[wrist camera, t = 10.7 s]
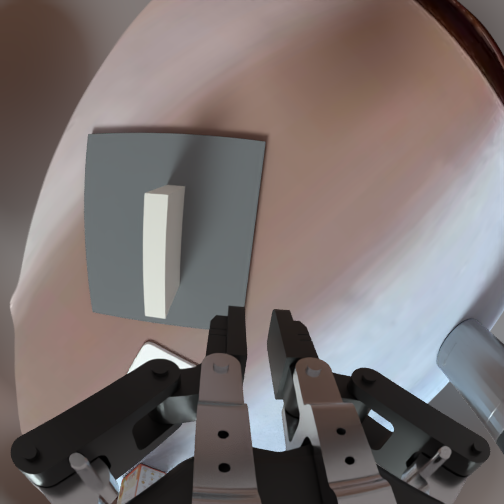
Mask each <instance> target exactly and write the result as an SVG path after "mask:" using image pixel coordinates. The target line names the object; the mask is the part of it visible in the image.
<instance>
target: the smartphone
mask: <svg viewBox="0 0 504 504" xmlns="http://www.w3.org/2000/svg"><path fill="white" fill-rule="evenodd" d="M152 359H167V360H170V361H172V362H174V363H176V364H177V365H178V367H179V368H180V369H185V368H192V367H195V366H196V365H195V364H193V363H191V362H189V361H187V360H185V359H183V358H181V357H179V356H177V355H175V354H173V353H171V352H169V351H168V350H166V349H164V348H162V347H160V346H158V345H157V344H155V343H152V342H146V343H145V344H144V345H143V347H142V348H141V350H140V352H139V353H138V355H137V356H136V358H135V360H134V361H133V363H132V365H131V367H130V369H129V371H128V373H130V372H131V371H133V370H134V369H136V368H138V367H139V366H141V365H142V364H144V363H146V362H147V361H149V360H152ZM128 373H127V374H128Z"/></svg>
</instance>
